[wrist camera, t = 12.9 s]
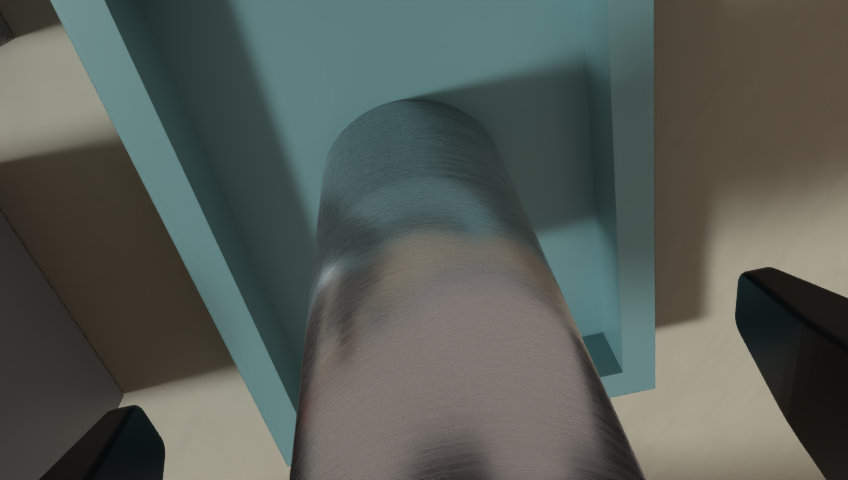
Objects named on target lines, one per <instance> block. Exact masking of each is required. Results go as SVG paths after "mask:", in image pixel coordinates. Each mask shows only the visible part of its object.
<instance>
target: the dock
mask: <svg viewBox="0 0 848 480" xmlns="http://www.w3.org/2000/svg"><path fill="white" fill-rule="evenodd" d="M122 398H123V393H122V392H121V390H120V389H119V387H118V386H117V384H116V383H115V381H114V380H113V378H112V377H111V375H110V374H109V372H108V371H107V369H106V368H105V366H104V365H103V363H102V362H101V360H100V359H99V357H98V356H97V354H96V353H95V351H94V350H93V349H92V347H91V346H90V344H89V343H88V341H87V340H86V338H85V337H84V335H83V334H82V332H81V331H80V329H79V328H78V326H77V325H76V323H75V322H74V320H73V319H72V317H71V316H70V314H69V313H68V311H67V310H66V308H65V307H64V305H63V304H62V302H61V301H60V299H59V298H58V296H57V295H56V293H55V292H54V290H53V289H52V287H51V286H50V284H49V283H48V281H47V280H46V278H45V277H44V275H43V274H42V272H41V271H40V269H39V268H38V266H37V265H36V263H35V262H34V260H33V259H32V257H31V256H30V254H29V253H28V251H27V250H26V248H25V247H24V245H23V244H22V242H21V241H20V239H19V238H18V237H17V235H16V234H15V232H14V231H13V229H12V228H11V226H10V225H9V223H8V222H7V220H6V219H5V217H4V216H3V214H2V213H1V211H0V480H39V479H40V478H41V477H42V476H43V475H44V474H45V473H46V472H47V471H48V470H49V469H50V468H51V467H52V466H53V465H54V464H55V463H56V462H57V461H58V460H59V459H60V458H61V457H62V456H63V455H64V454H65V453H66V452H67V451H68V450H69V449H70V448H71V447H72V446H73V445H74V444H75V443H76V442H77V441H78V440H79V439H80V438H81V437H82V436H83V435H84V434H85V433H86V432H87V431H88V430H89V429H90V428H91V427H92V426H93V425H94V424H95V423H96V422H97V421H98V420H99V419H100V418H101V417H102V416H104V415H105V414H106V413H107V412H108V411H110V410H113V409H117V408H118V407H119V405H120V403H121V400H122Z"/></svg>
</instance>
